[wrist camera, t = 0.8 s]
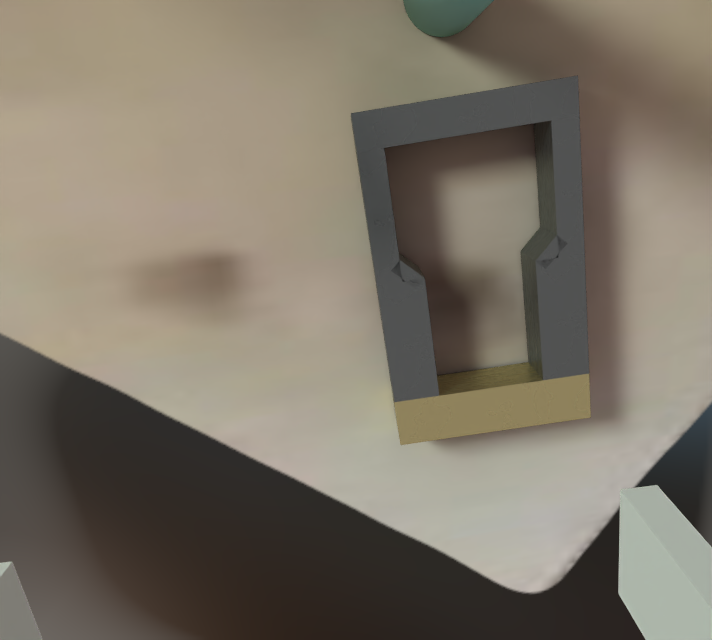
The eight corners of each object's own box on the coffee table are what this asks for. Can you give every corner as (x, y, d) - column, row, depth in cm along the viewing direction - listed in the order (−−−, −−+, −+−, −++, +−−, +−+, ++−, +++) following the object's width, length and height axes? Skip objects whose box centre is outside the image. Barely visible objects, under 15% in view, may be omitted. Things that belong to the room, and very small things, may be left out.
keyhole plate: (350, 116, 33) (350, 113, 30) (557, 81, 33) (577, 75, 30) (396, 422, 39) (400, 445, 36) (572, 397, 38) (590, 417, 36)
